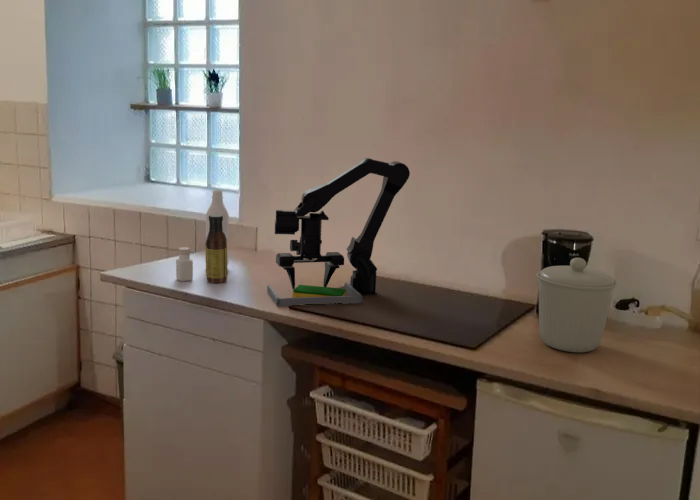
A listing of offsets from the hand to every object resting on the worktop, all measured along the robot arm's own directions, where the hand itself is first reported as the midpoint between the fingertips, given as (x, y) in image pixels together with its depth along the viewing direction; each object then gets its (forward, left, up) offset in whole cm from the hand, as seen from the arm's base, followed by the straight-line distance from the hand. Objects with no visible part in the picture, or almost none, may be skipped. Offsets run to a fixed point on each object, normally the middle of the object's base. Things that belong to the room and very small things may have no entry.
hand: (309, 288), depth 205 cm
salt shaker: (+33, -18, -1) cm, 38 cm away
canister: (-50, +55, -1) cm, 74 cm away
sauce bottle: (+24, -15, -1) cm, 29 cm away
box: (0, +6, -1) cm, 6 cm away
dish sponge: (-2, +5, -2) cm, 5 cm away
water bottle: (+22, -31, -1) cm, 39 cm away
